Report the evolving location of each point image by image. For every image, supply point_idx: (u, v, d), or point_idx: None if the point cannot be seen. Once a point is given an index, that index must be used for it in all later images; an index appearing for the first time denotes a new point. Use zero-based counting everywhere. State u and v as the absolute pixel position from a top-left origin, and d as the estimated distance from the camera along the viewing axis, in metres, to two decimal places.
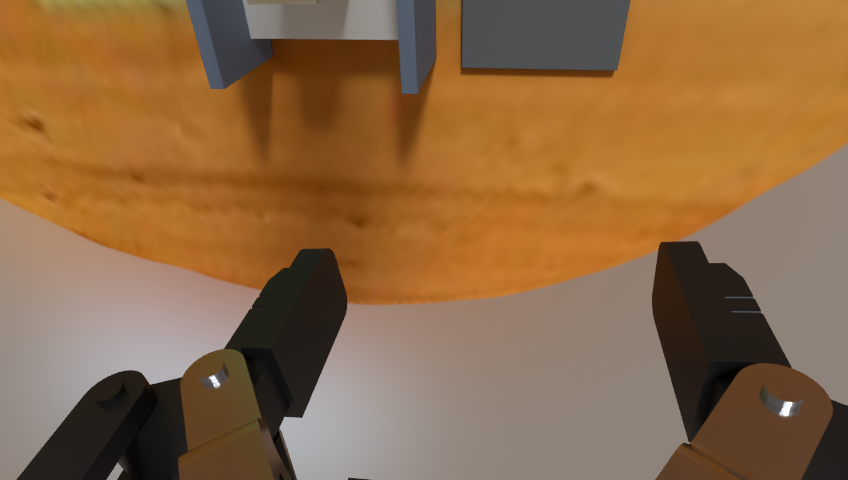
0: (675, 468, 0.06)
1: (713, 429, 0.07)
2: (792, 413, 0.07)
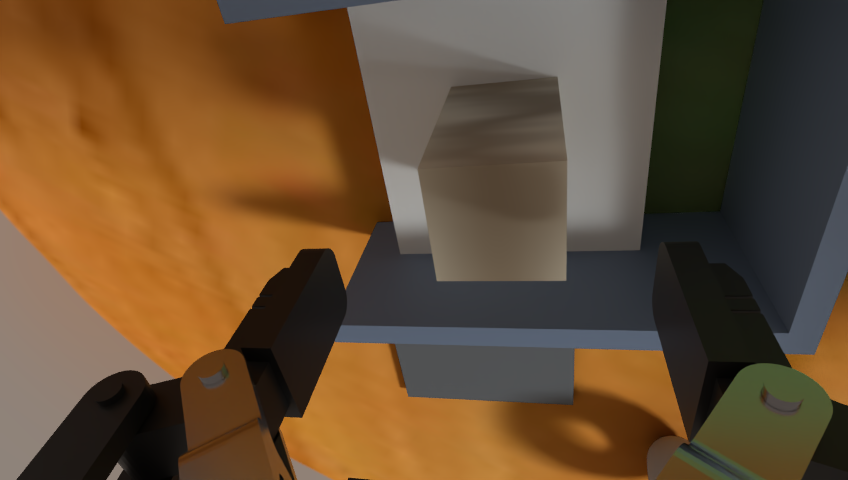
0: (675, 468, 0.06)
1: (713, 429, 0.07)
2: (792, 413, 0.07)
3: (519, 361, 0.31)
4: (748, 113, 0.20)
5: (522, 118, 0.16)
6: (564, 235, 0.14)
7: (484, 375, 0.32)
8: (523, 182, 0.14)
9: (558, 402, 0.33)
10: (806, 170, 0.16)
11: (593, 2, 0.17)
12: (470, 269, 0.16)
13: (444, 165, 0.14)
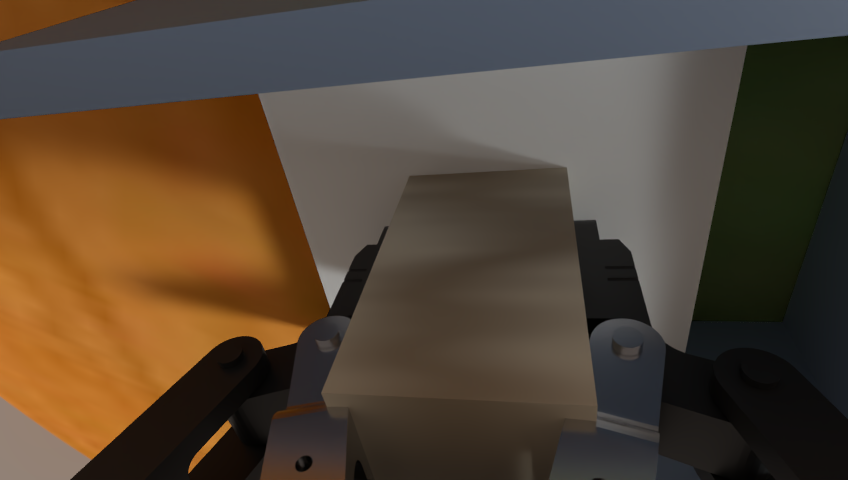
0: (569, 434, 0.07)
1: None
2: (630, 356, 0.08)
3: None
4: (840, 209, 0.14)
5: (512, 262, 0.10)
6: None
7: None
8: (513, 427, 0.07)
9: None
10: None
11: (625, 64, 0.11)
12: None
13: (370, 389, 0.08)
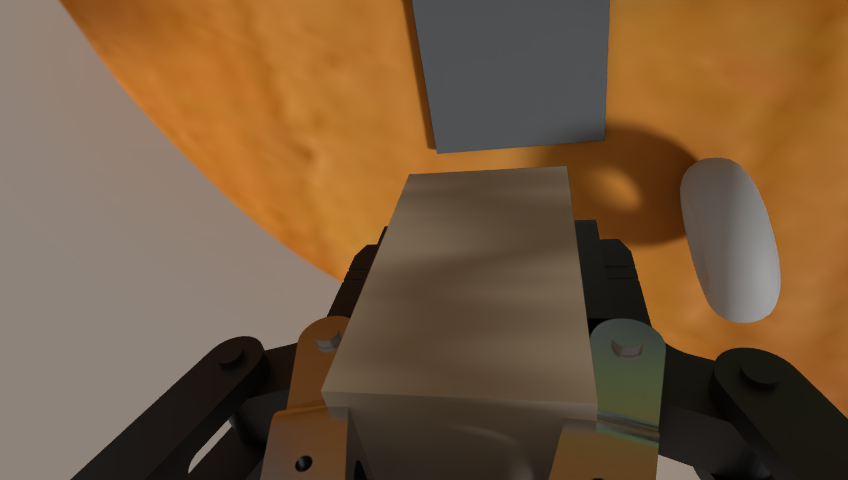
0: (569, 434, 0.07)
1: None
2: (630, 357, 0.08)
3: (551, 85, 0.31)
4: None
5: (512, 261, 0.10)
6: None
7: (515, 111, 0.32)
8: (513, 425, 0.07)
9: (589, 139, 0.32)
10: None
11: None
12: None
13: (369, 387, 0.08)
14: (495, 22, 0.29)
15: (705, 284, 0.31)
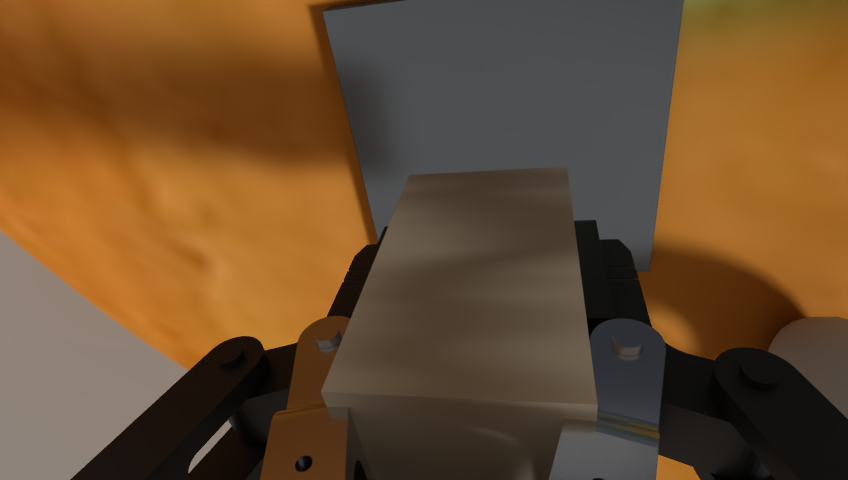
0: (569, 433, 0.07)
1: None
2: (630, 357, 0.08)
3: None
4: None
5: (512, 261, 0.10)
6: None
7: None
8: (513, 426, 0.07)
9: None
10: None
11: None
12: None
13: (370, 389, 0.08)
14: (473, 88, 0.17)
15: None
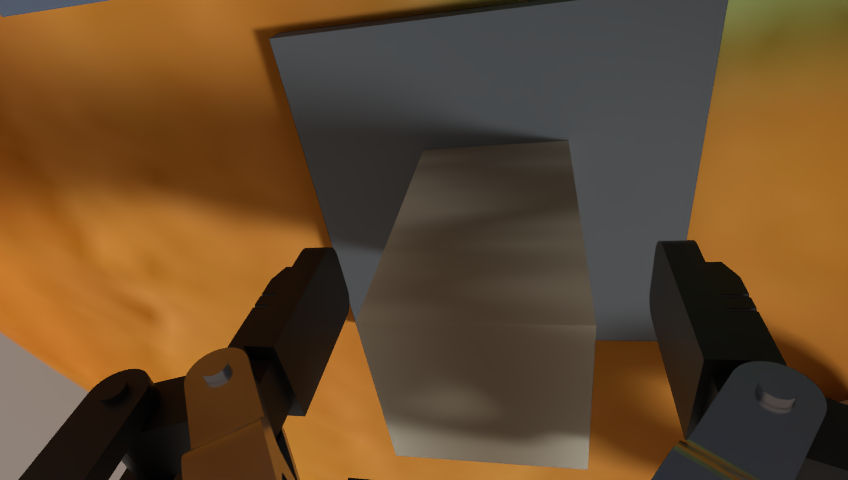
0: (671, 466, 0.06)
1: (709, 427, 0.07)
2: (786, 410, 0.07)
3: None
4: None
5: (520, 218, 0.11)
6: (587, 418, 0.09)
7: None
8: (523, 349, 0.08)
9: (640, 338, 0.17)
10: None
11: None
12: (444, 446, 0.10)
13: (398, 318, 0.09)
14: (458, 132, 0.14)
15: None
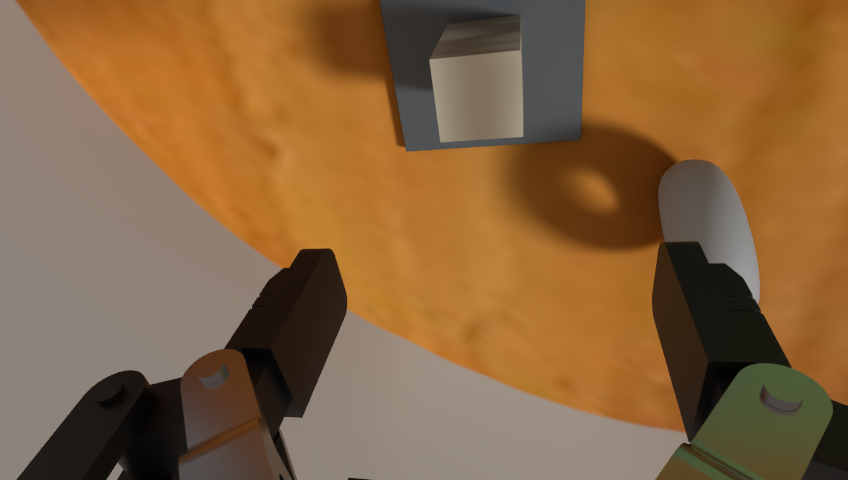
0: (675, 468, 0.06)
1: (713, 429, 0.07)
2: (792, 413, 0.07)
3: (525, 80, 0.29)
4: None
5: (495, 34, 0.24)
6: (520, 102, 0.23)
7: None
8: (494, 66, 0.22)
9: (565, 138, 0.31)
10: None
11: None
12: (462, 131, 0.24)
13: (446, 57, 0.22)
14: (465, 12, 0.28)
15: None
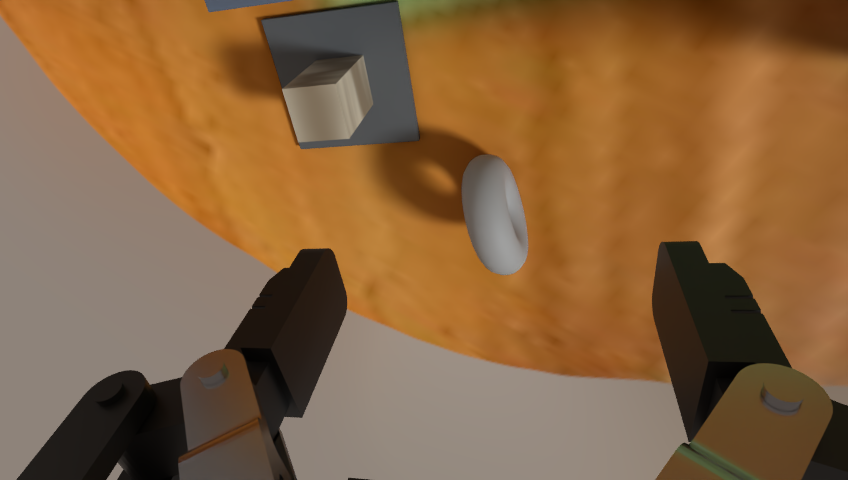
0: (675, 468, 0.06)
1: (713, 429, 0.07)
2: (792, 413, 0.07)
3: (373, 99, 0.42)
4: None
5: (333, 71, 0.37)
6: (342, 116, 0.35)
7: None
8: (322, 93, 0.35)
9: (408, 140, 0.43)
10: None
11: None
12: (310, 135, 0.37)
13: (292, 87, 0.35)
14: (326, 53, 0.40)
15: None
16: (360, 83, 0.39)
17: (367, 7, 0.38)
